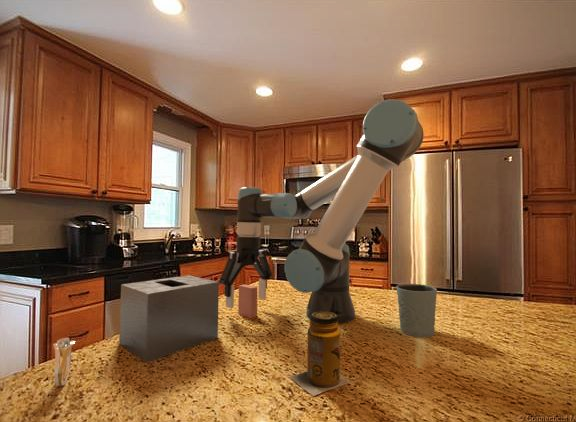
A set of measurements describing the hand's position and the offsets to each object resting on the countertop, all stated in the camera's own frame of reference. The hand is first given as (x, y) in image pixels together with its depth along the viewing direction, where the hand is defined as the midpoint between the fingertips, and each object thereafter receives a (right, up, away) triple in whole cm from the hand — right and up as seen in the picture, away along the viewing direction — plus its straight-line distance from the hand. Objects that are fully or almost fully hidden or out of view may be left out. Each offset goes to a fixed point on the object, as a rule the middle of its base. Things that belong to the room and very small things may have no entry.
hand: (246, 303), depth 96 cm
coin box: (-16, -3, -22) cm, 27 cm away
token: (0, -4, 0) cm, 4 cm away
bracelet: (-27, -2, -42) cm, 50 cm away
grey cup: (+48, -4, -14) cm, 50 cm away
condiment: (+19, -2, -40) cm, 44 cm away
